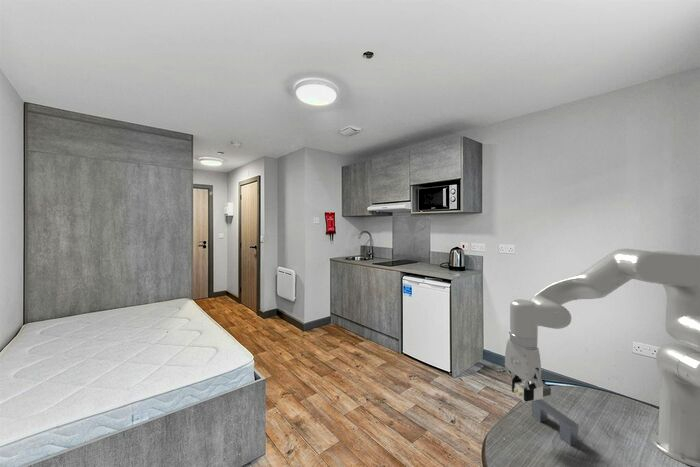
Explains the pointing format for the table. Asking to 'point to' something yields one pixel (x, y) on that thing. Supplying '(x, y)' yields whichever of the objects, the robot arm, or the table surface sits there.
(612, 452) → the table surface
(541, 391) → the plug
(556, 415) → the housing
